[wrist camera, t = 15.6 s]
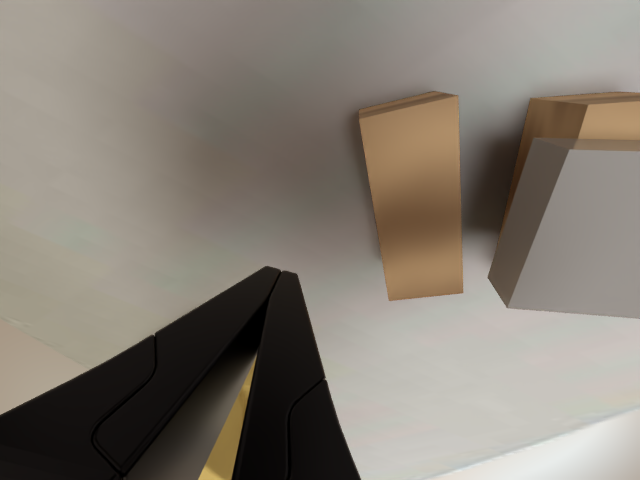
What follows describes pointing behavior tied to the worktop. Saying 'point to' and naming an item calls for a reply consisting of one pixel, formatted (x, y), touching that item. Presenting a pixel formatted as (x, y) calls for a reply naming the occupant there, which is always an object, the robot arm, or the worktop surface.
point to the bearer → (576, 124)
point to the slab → (573, 230)
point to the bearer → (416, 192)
